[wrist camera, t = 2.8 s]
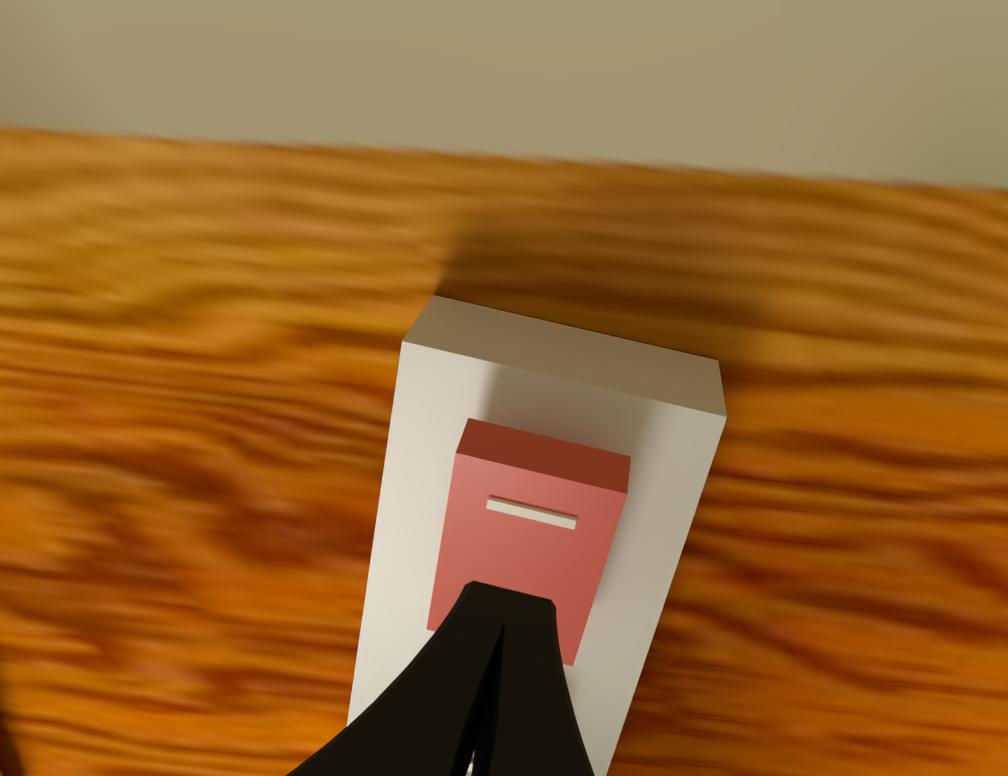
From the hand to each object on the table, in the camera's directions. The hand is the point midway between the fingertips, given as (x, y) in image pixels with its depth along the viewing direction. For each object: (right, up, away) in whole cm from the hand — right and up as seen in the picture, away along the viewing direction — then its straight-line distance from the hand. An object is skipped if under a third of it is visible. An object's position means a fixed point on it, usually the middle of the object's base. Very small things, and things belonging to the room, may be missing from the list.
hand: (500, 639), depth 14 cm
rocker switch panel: (0, -1, +11) cm, 11 cm away
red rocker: (0, 0, +5) cm, 5 cm away
